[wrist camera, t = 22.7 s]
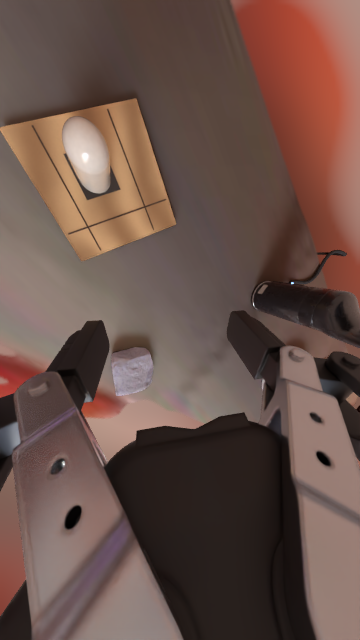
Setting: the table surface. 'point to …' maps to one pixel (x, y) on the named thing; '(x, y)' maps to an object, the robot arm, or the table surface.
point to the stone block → (131, 370)
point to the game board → (83, 205)
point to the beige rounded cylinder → (87, 153)
